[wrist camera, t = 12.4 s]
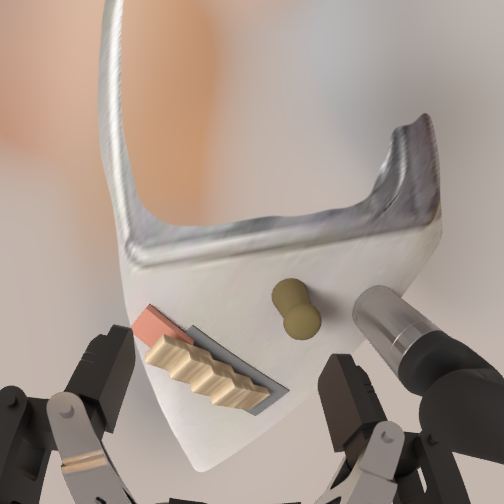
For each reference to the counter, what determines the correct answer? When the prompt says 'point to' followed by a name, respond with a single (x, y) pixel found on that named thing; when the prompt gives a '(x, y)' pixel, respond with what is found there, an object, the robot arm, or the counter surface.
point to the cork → (296, 309)
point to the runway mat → (239, 368)
